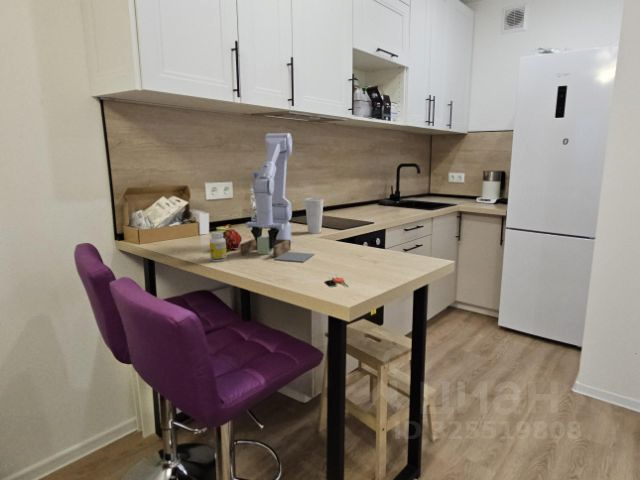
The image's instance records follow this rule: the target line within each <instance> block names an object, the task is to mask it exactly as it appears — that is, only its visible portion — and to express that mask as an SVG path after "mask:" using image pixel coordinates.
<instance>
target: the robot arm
mask: <svg viewBox="0 0 640 480" xmlns="http://www.w3.org/2000/svg"><path fill="white" fill-rule="evenodd" d="M292 137H293V136H292V134H291V133H289V132H284V133H283V132H282V133H281V132H280V133H269V132H268V133H266V134H265V136H264V145H265V148H266V150H267V151H266V156H265V160H264V161H265V162H262V164H261V166H260V169H259V172H258V175H257V176H258V177H257V178H256V179H254V181H253V184H252V191H253V196H254V199H255V203H256V221H248V222H247V221H246V223H245V225H246V228H247V229H250V233H251V234H252V236H253V239H254V238H255V240H256V243H257V238H258V237H260V236H262V235H263V229H266V230H267V229H268V230H267V235H268V236H269V241H270V249H272V248H273V247H274V244H275V240H276V239H286V240H290V243H291V242H293V241H294V239H292V225H291V223H290V220H291V219H292V216H293V215H292V214H293V210H292V202H290V200H289V199H287V198H286V189H287V188H286V185H287V184H286V182H287V165H288V164H287V163H288V158H289V157H291V156H292V153H293V152H292V151H293V138H292Z"/></svg>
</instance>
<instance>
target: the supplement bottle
mask: <svg viewBox="0 0 640 480" xmlns="http://www.w3.org/2000/svg"><path fill="white" fill-rule="evenodd" d="M223 232H224V231H217V230H216V231H212V232H211V233H210V235H211V236H210V237H211V238H210V239H209V247H210V249H209V250H210V260H211V261H212V262H215V263H216V262H217V263H218V262H224V261H227V259H228V256H227V254H228V253H227V250H226V240H225V238H223Z"/></svg>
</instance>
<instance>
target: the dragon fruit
mask: <svg viewBox="0 0 640 480" xmlns="http://www.w3.org/2000/svg"><path fill="white" fill-rule="evenodd" d="M222 232H223V238H225V240H226V251H231V250H232V249H234V250H236V249H237V250H238V249H239V246H240V244H241V243H242V240H243V238H242V236H241V235H240V233H239V232H238V231H237V230H235V229H234V228H232V229H226V230H225V231H222Z"/></svg>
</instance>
